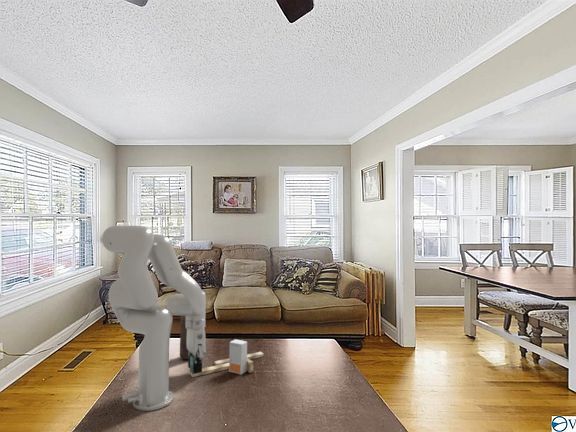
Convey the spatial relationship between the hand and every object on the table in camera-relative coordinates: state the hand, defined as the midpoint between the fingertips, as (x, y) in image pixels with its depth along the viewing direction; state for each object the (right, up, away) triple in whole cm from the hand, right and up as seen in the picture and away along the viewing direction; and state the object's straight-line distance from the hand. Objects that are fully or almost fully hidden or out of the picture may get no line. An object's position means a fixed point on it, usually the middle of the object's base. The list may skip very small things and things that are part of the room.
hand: (195, 369), depth 143 cm
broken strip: (+15, -3, +16) cm, 22 cm away
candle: (-7, -3, +18) cm, 19 cm away
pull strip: (+10, -2, +3) cm, 10 cm away
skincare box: (+16, -3, +4) cm, 17 cm away
